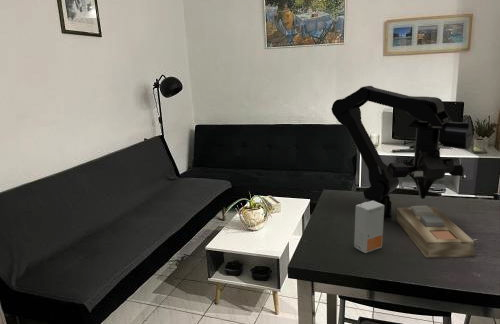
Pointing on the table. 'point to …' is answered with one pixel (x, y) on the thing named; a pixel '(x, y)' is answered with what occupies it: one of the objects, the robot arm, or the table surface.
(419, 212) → the offwhite key
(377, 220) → the skincare box
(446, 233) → the terracotta key
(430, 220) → the grey key
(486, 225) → the table surface
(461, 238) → the wooden slotted tray
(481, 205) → the table surface
